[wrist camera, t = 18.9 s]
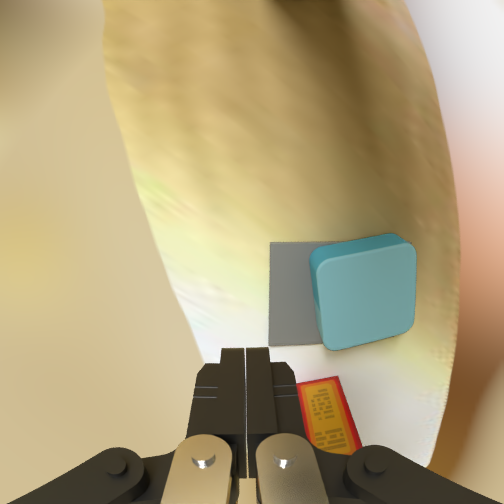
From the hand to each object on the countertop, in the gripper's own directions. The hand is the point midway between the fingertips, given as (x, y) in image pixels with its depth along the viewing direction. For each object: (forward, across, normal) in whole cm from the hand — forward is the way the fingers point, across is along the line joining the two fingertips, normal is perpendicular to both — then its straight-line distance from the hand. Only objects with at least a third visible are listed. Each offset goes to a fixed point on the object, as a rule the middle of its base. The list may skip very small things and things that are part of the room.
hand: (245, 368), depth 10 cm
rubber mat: (+27, -12, +11) cm, 31 cm away
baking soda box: (+27, -10, +30) cm, 42 cm away
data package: (+24, -8, +11) cm, 27 cm away
